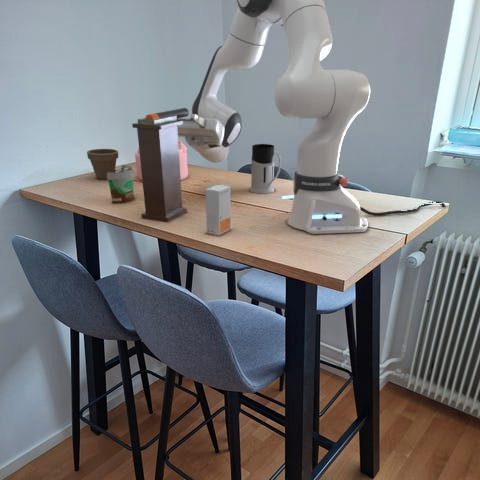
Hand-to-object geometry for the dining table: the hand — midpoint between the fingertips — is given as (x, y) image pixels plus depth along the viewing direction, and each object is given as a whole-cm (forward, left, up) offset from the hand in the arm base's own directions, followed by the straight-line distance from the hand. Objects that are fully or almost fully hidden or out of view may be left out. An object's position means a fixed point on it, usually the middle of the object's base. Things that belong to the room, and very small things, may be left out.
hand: (178, 115), depth 137 cm
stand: (+4, +10, -26) cm, 29 cm away
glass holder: (-26, -19, -27) cm, 42 cm away
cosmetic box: (-14, +24, -27) cm, 39 cm away
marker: (+2, +6, +1) cm, 7 cm away
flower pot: (+37, -35, -27) cm, 57 cm away
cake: (+15, -38, -27) cm, 48 cm away
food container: (+20, -5, -27) cm, 34 cm away
